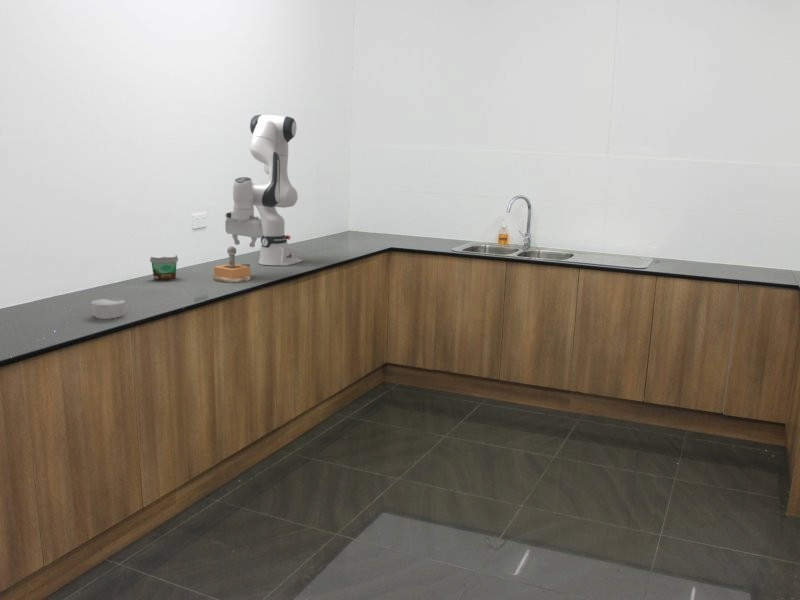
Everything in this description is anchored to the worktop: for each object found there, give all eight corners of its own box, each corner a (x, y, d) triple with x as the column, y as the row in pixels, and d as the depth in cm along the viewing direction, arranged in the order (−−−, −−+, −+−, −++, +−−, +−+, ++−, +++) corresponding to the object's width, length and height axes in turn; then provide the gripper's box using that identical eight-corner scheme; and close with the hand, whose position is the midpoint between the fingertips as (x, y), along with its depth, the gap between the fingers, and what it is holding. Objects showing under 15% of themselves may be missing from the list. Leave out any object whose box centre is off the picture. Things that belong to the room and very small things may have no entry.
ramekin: (130, 313, 278) (129, 298, 276) (119, 320, 267) (119, 305, 266) (98, 312, 277) (97, 297, 276) (86, 319, 266) (85, 304, 265)
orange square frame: (231, 279, 336) (231, 269, 335) (214, 275, 342) (214, 266, 341) (256, 274, 348) (256, 265, 348) (239, 271, 354) (239, 262, 354)
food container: (156, 282, 332) (155, 259, 330) (150, 279, 336) (149, 256, 334) (183, 279, 340) (183, 256, 337) (177, 277, 344) (177, 254, 342)
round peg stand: (232, 274, 355) (232, 242, 352) (258, 278, 346) (258, 246, 343) (205, 279, 342) (205, 246, 339) (231, 284, 333) (231, 250, 330)
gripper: (266, 216, 341) (266, 247, 344) (232, 212, 352) (233, 242, 356) (255, 217, 336) (256, 249, 339) (222, 213, 347) (223, 244, 350)
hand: (244, 245), depth 348 cm, fingers open, 8 cm apart
